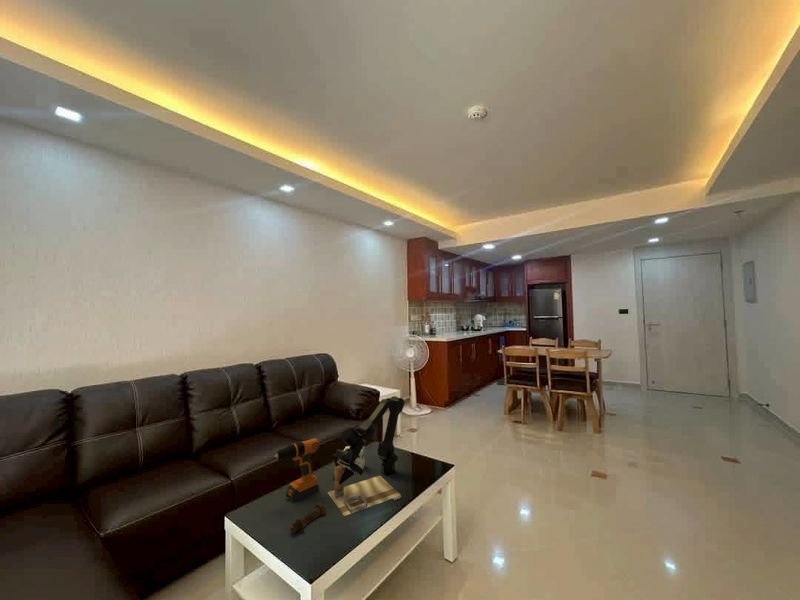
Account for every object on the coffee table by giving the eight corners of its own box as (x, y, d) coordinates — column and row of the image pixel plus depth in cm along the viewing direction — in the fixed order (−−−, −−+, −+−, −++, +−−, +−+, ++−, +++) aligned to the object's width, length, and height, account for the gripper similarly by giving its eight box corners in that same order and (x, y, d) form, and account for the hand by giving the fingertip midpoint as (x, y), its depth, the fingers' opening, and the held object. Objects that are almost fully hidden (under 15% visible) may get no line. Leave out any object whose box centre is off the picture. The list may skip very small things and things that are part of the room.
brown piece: (341, 490, 154) (341, 464, 154) (345, 494, 150) (345, 468, 151) (332, 493, 152) (332, 467, 152) (336, 497, 148) (335, 471, 148)
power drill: (279, 511, 142) (278, 453, 143) (272, 503, 148) (271, 448, 148) (322, 491, 158) (322, 439, 158) (314, 485, 163) (314, 434, 163)
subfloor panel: (379, 477, 169) (379, 472, 169) (401, 497, 151) (400, 491, 151) (327, 494, 154) (327, 489, 154) (344, 519, 136) (344, 512, 136)
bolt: (290, 538, 128) (320, 517, 140) (297, 537, 125) (327, 515, 138) (285, 523, 130) (315, 503, 142) (292, 521, 127) (322, 500, 139)
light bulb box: (364, 465, 183) (364, 446, 183) (362, 471, 176) (362, 451, 176) (346, 464, 184) (345, 445, 184) (342, 470, 177) (342, 450, 177)
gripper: (333, 437, 161) (314, 468, 152) (357, 447, 148) (338, 482, 140) (346, 447, 166) (328, 478, 158) (371, 458, 154) (353, 492, 145)
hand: (336, 482), depth 150 cm, fingers closed on brown piece, 4 cm apart
